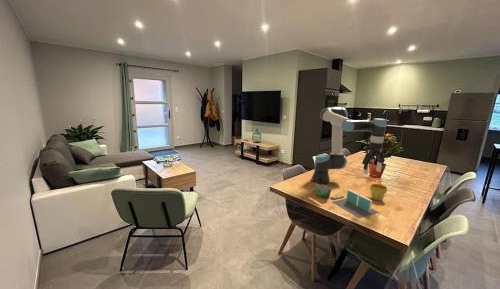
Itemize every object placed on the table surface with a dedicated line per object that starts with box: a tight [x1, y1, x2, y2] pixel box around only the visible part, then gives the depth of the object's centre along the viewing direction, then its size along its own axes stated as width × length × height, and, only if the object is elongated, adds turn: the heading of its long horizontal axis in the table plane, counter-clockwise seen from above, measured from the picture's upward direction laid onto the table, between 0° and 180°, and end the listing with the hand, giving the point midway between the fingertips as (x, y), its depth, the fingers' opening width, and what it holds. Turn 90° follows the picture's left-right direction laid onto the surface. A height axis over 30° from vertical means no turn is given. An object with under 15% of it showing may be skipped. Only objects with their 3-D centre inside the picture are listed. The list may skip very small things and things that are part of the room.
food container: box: [314, 182, 333, 199], centre depth 150 cm, size 12×6×10 cm, turn 45°
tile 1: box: [345, 189, 361, 206], centre depth 141 cm, size 8×2×8 cm, turn 24°
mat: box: [331, 197, 380, 219], centre depth 137 cm, size 22×18×1 cm
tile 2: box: [358, 194, 373, 213], centre depth 133 cm, size 8×2×8 cm, turn 24°
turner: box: [330, 194, 345, 201], centre depth 151 cm, size 18×6×2 cm, turn 114°
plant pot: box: [369, 183, 388, 202], centre depth 151 cm, size 10×10×10 cm
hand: (371, 172), depth 142 cm, fingers open, 13 cm apart
